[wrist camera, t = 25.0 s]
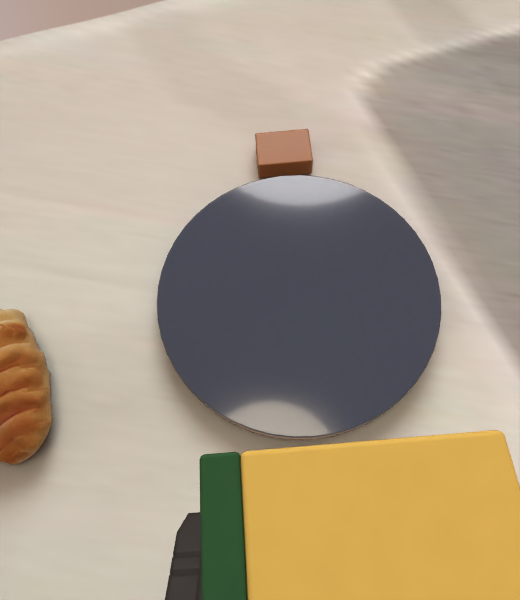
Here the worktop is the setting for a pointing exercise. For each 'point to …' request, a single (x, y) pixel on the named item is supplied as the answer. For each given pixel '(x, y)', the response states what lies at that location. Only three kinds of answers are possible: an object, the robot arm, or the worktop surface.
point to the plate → (299, 307)
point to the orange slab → (284, 153)
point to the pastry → (22, 390)
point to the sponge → (363, 521)
